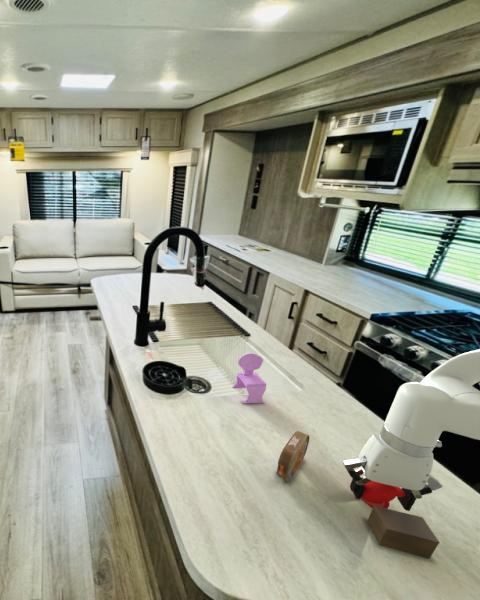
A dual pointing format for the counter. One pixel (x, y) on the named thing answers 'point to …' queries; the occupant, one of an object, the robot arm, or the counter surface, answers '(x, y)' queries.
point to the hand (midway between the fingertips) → (378, 498)
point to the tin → (292, 455)
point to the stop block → (402, 532)
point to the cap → (380, 494)
